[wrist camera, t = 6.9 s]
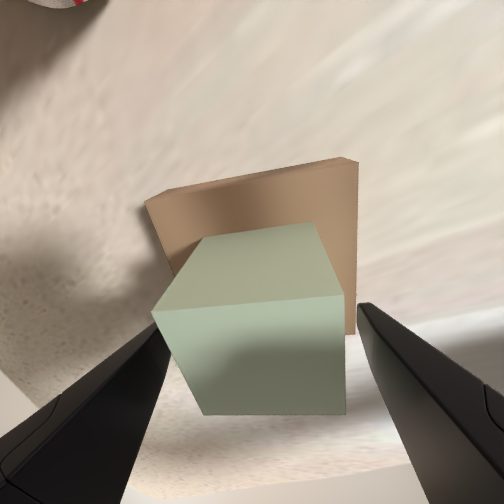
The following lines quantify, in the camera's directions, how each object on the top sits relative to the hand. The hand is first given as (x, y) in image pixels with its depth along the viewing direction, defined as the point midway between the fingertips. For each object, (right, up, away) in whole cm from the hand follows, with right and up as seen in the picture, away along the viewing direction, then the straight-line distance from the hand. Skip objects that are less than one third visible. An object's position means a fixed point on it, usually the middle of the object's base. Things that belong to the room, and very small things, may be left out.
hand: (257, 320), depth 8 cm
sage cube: (0, +1, +3) cm, 3 cm away
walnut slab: (+1, +3, +5) cm, 6 cm away
